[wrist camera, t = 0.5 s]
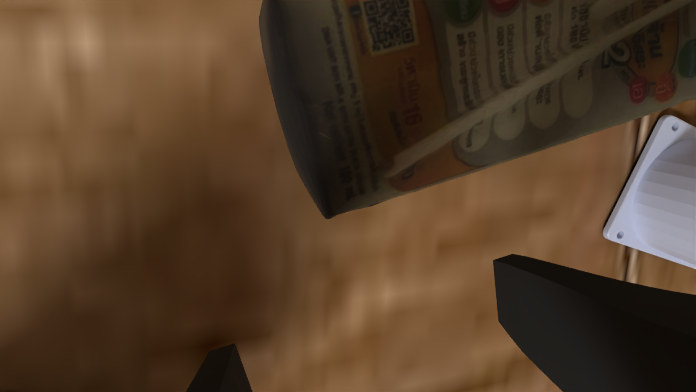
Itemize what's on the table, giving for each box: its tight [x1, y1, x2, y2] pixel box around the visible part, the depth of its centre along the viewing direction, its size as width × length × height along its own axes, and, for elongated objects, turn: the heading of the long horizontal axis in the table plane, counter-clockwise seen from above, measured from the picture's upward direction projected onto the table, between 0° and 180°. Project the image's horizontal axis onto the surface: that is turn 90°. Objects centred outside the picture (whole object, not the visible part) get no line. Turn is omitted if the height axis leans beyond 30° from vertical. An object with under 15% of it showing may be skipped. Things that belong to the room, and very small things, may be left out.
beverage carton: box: [259, 0, 696, 219], centre depth 16 cm, size 8×19×7 cm, turn 104°
